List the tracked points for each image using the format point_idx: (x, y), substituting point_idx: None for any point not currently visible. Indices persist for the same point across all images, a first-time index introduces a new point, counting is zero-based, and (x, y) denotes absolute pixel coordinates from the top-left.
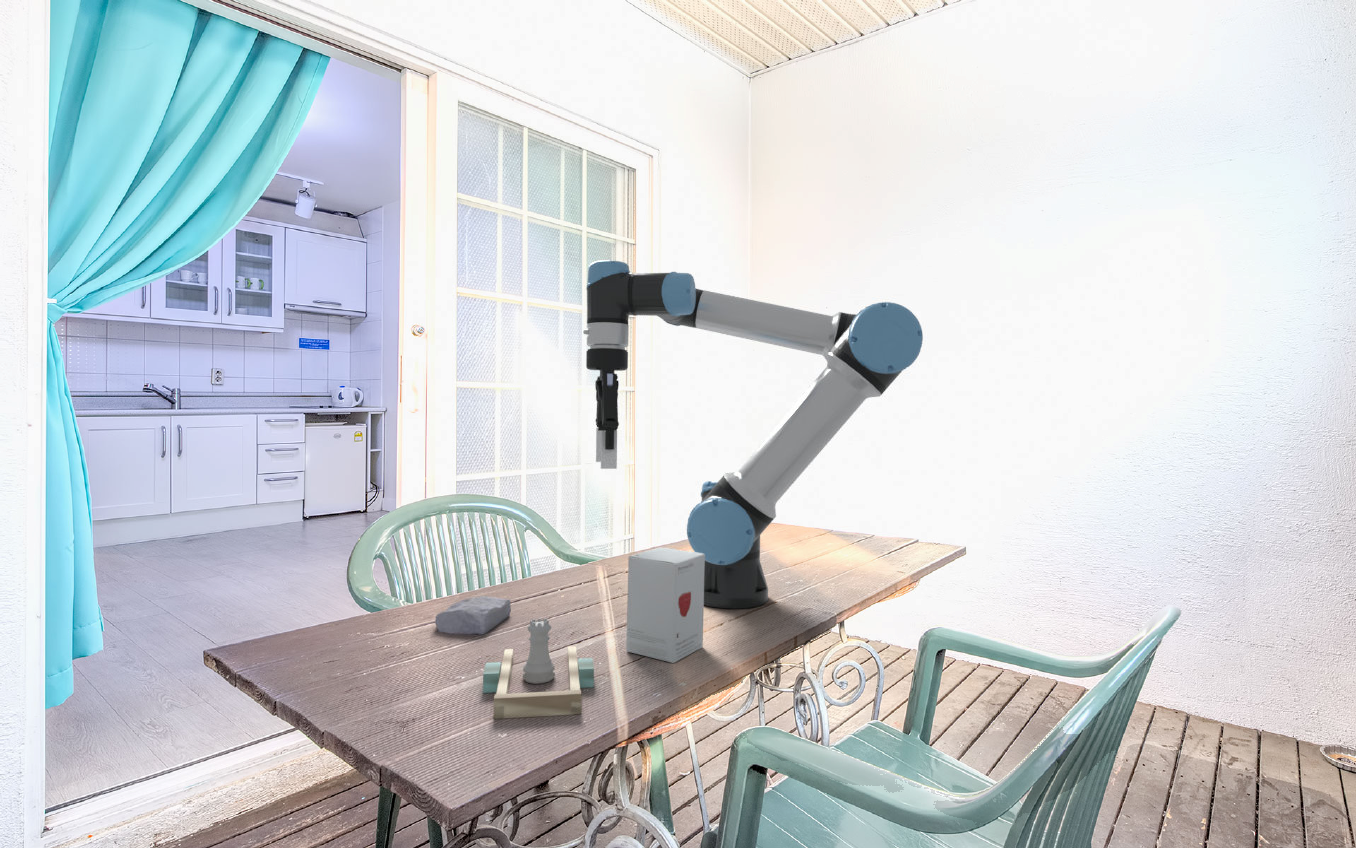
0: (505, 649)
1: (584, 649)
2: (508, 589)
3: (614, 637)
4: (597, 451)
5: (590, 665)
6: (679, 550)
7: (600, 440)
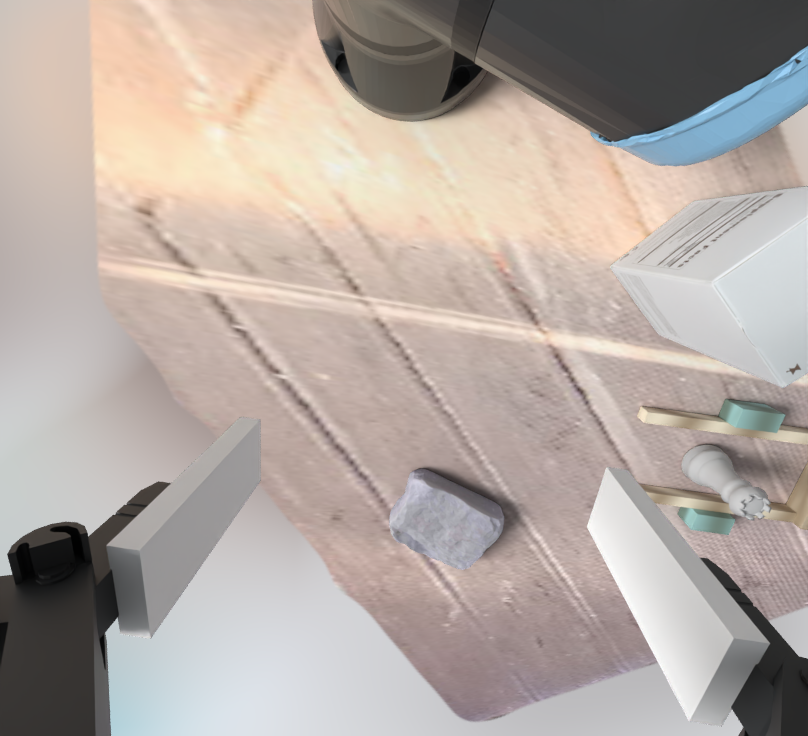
0: None
1: (617, 389)
2: (267, 455)
3: (581, 336)
4: (237, 509)
5: (770, 416)
6: (788, 241)
7: (201, 540)
